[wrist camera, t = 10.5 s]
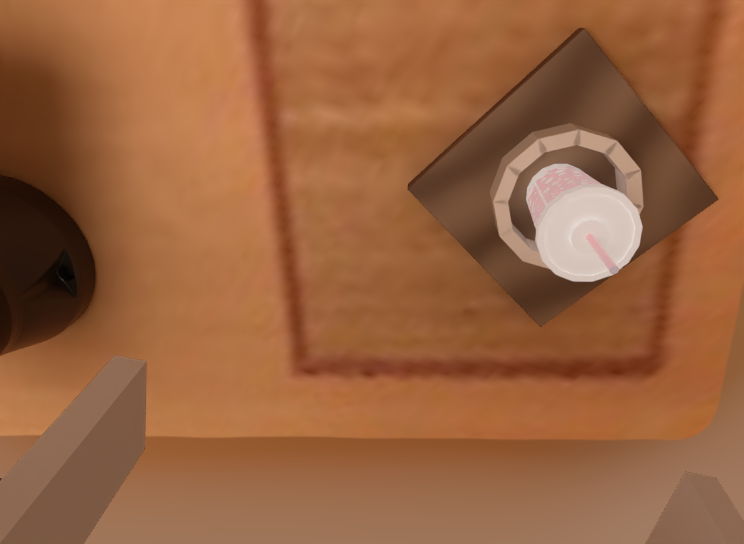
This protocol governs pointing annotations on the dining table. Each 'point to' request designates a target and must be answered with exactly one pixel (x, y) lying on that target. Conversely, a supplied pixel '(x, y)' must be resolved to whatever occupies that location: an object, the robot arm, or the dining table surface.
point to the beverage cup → (581, 224)
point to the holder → (542, 111)
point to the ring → (533, 149)
